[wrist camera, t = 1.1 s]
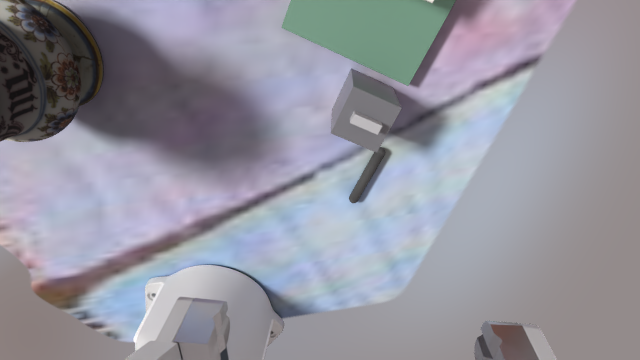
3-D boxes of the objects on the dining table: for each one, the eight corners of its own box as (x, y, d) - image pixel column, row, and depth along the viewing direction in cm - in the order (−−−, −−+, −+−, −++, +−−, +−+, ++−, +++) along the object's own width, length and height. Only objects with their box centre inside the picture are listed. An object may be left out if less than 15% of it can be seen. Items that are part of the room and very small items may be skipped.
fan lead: (355, 201, 40) (356, 206, 39) (347, 197, 40) (347, 202, 39) (386, 147, 36) (387, 152, 36) (377, 144, 36) (378, 148, 35)
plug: (371, 126, 36) (377, 156, 30) (332, 109, 35) (330, 136, 29) (392, 87, 34) (403, 111, 28) (351, 68, 33) (353, 89, 27)
